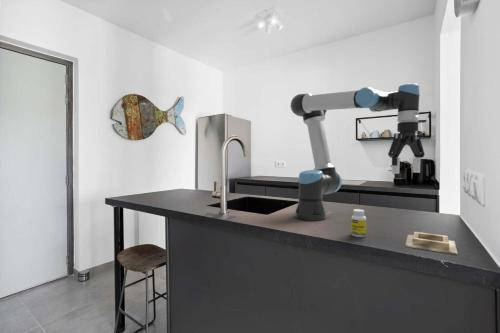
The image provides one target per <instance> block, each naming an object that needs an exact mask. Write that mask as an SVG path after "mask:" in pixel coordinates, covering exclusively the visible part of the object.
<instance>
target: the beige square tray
mask: <svg viewBox="0 0 500 333" xmlns="http://www.w3.org/2000/svg"><path fill="white" fill-rule="evenodd" d="M405 241H406V242H405V245H404V246H405V247H407V248H413V249H420V250H425V251H431V252H432V251H433V252H438V253H444V254H449V255H451V254H452V255H456V256H457V255H458V250H457V245H456V242H455V240H449V237H448V235H442V234H435V233H429V232H428V233H427V232H419V231H414V232H413V234H408V235H407V237H406V240H405Z"/></svg>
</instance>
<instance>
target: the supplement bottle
mask: <svg viewBox="0 0 500 333" xmlns="http://www.w3.org/2000/svg"><path fill="white" fill-rule="evenodd" d="M352 211H353V212H352V213H353V214H352V216H351V218H350V219H351V222H350V223H351V224H350V226H351V227H350V228H351V230H350V232H351V233H350V234H351V236H353V237H356V238H357V237H358V238H364V237H366V236H367V217H366V216H365V210H364V209H359V208H354V209H353V210H352Z"/></svg>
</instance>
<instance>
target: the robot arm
mask: <svg viewBox="0 0 500 333" xmlns="http://www.w3.org/2000/svg"><path fill="white" fill-rule="evenodd" d="M420 96H421V95H420V86H419V83H414V82H413V83H412V82H411V83H410V82H409V83H404V84H400V85H399V86H398V88H397V91H389V92H384V91H380V90H377V89H375V88H374V87H368V86H367V87H362V88H360V89H357V90H347V91H339V92H330V93H321V94H319V93H318V94H311V93H299V94H297V95H295V96H293V98H292V99H291V100H290V101H291V102H290V110H291V112H292V113H293V114H294V115H296V116H298V117H302V120H303V124H305V125H306V126H307V131H308V132H307V133H308V137H309V142H310V147H311V153H312V158H313V163H314V168H313V169H311V170H304V171H300V173H299V174H298V203H297V206H296V209H295V211H294V212H295V213H294V215H295V216H294V217H295V218H296V219H298V220H299V219H300V220H303V221H324V220H326V219H327V213H326V212H327V211H326V209H325V206H324V203H323V195H330V194H334V193H336V192H338V191H339V190H340V188H341V187H342V184H343V182H342V181H343V180H342V177H341V175H340V173H338V172H337V171H336V167H335V165H333V164H332V162H331V160H332V159H331V156H330V152H329V146H328V141H327V136H326V131H325V130H326V129H325V126H324V121H325V119H326V115H327V114H326V113H327V111H330V110H331V111H332V110H346V109H348V110H349V109H350V110H351V109H369V110H370V112H371V113H372V112H374V113H375V112H379V113H380V112H383V111H384V112H385V111H391V110H393V111H394V110H397V122H398V123H397V125H396V126H397V128H396V129H397V130H396V133H394V134H393V139H392V142H391V145H390V147H389V151H388V153H387V155H388V157H389V158H391V174H393V175H394V174H396V175H398V174H400V168H401V167H400V165H401V164H400V161H401V159H400V157H399V156H400V155H401V153H402V151H403V149H404V148H405V146H408V147H409V148H410V150H411V152H412V154H413V157H412V173H414V174H415V173H419V174H420V173H421V160H422V159H421V158H424V156H425V150H424V147H423V143H422V140H421V134H420V133H418V134H417V133H416V132H418V131H419V122H418V121H419V114H420V113H419V111H420Z"/></svg>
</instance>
